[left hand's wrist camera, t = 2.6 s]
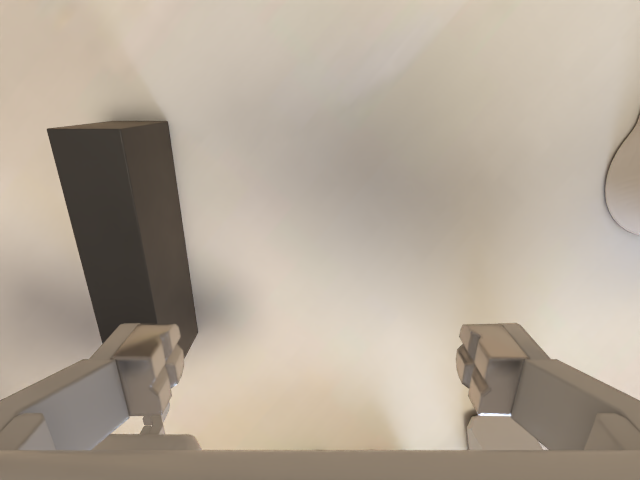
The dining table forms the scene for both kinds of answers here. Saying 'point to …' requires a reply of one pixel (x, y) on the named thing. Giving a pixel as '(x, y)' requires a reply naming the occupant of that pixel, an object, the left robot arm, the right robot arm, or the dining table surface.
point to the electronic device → (499, 434)
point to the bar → (127, 223)
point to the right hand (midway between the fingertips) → (104, 399)
